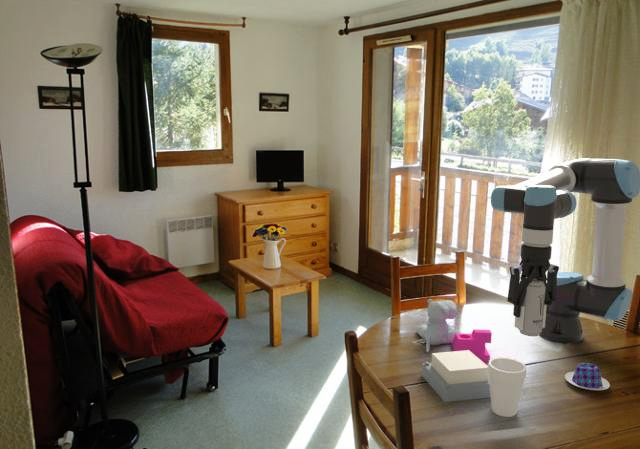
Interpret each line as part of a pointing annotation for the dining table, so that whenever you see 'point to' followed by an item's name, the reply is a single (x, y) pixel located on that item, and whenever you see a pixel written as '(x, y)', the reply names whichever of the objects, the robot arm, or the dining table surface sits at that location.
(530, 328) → the energy drink can
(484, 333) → the bracket
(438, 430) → the dining table surface
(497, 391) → the foam cup
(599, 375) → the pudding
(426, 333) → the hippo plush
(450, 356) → the cream and grey box
